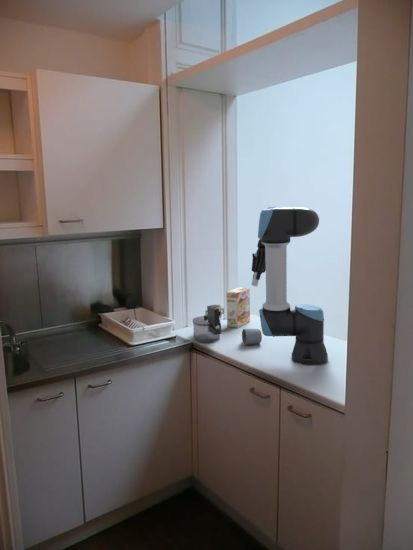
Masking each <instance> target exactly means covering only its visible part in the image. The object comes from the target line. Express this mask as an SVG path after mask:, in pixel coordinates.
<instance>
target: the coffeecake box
mask: <svg viewBox="0 0 413 550" xmlns="http://www.w3.org/2000/svg"><path fill="white" fill-rule="evenodd" d="M250 292H251V291H250V288H249V287H243V286H242V287H240V286H239V287H236V288H234V289H231V290H228V291H226V292H225V293H226V325H227V326H226V327H230V328H237V329H238V328H240V327H242V326H244V325H246V324H248V323H250V322H251V305H250V304H251V301H250V299H251V297H250V296H251V295H250Z"/></svg>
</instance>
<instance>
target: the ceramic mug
mask: <svg viewBox="0 0 413 550" xmlns="http://www.w3.org/2000/svg"><path fill="white" fill-rule="evenodd" d="M262 338H263V337H262V330H261V329H259V328H243V329H242V330H241V339H242V343H243V345H244V346H249V345H257V344H260V343H261V342H262Z"/></svg>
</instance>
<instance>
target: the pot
mask: <svg viewBox="0 0 413 550" xmlns="http://www.w3.org/2000/svg"><path fill="white" fill-rule="evenodd" d="M192 324H193V325H192V326H193V341H194V340H195V341H194V342H196V343H199V342H200V343H199V344H212V343H216V342H218V341H220V340H221V337H220V335H222V332H221V331H222V328H221V329H220V328H219V326H214V325H197V324H194V323H193V322H192Z"/></svg>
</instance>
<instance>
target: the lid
mask: <svg viewBox="0 0 413 550" xmlns="http://www.w3.org/2000/svg"><path fill="white" fill-rule="evenodd" d="M210 305H211V306H209V305H207V306H206V308H207V309H206V310H207V315H205V314H204V315H201V316H196V317H194V318H192V320H191V321H192V324H193V323H194V324H197V325H214V326H219V322H220V323H221V318H219V309H218V308H216V307H214V306H212V305H213V304H210Z"/></svg>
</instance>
